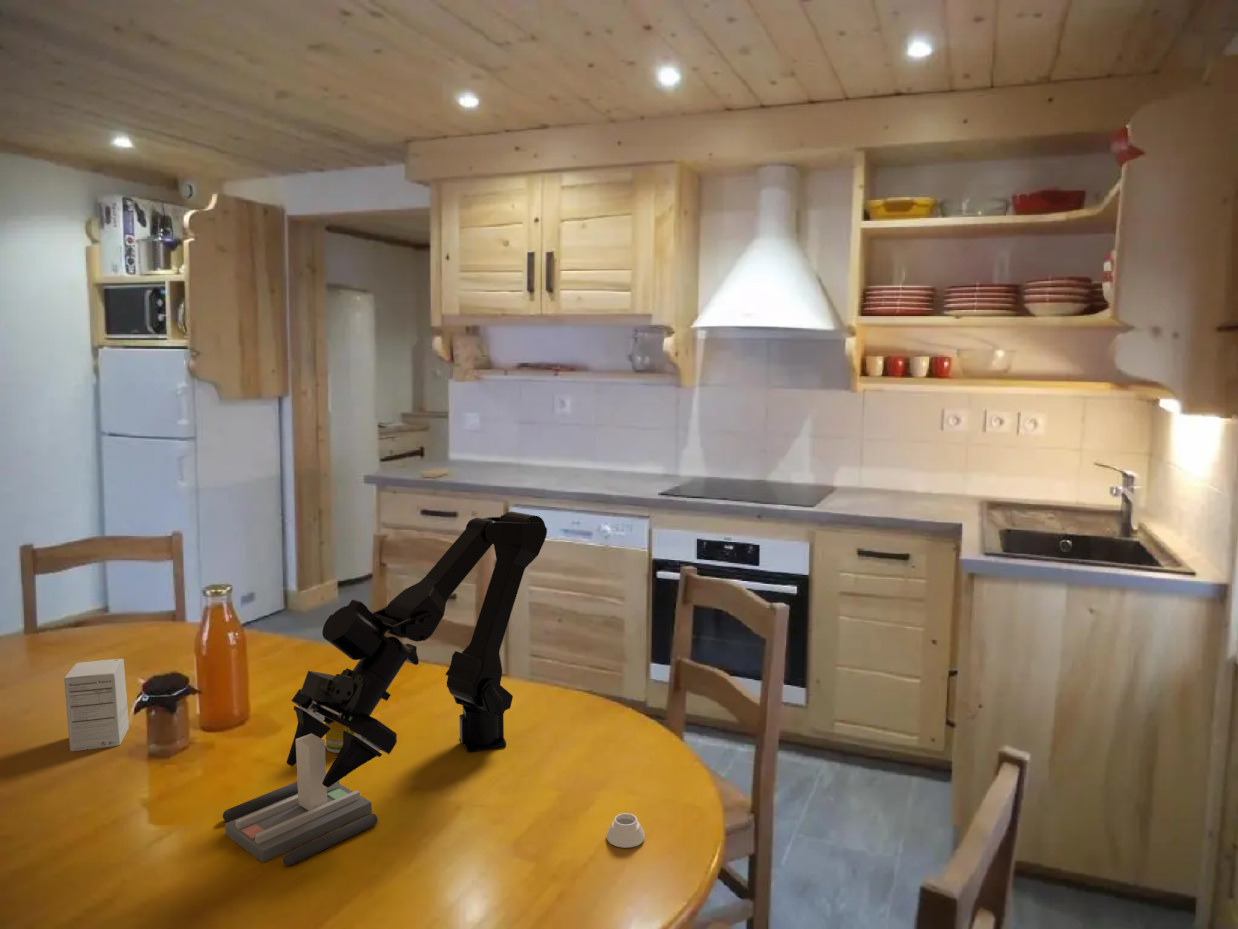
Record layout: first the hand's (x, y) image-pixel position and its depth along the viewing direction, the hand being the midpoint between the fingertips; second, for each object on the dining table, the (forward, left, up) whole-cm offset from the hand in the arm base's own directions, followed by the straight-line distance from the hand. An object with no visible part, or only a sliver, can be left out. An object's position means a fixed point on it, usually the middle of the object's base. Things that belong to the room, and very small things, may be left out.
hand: (306, 775), depth 118 cm
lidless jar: (-40, +19, -7) cm, 45 cm away
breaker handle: (-1, 0, -5) cm, 5 cm away
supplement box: (+32, -38, -7) cm, 50 cm away
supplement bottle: (-6, -22, -7) cm, 24 cm away
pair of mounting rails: (+1, +1, -6) cm, 7 cm away
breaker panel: (+1, +1, -6) cm, 7 cm away
